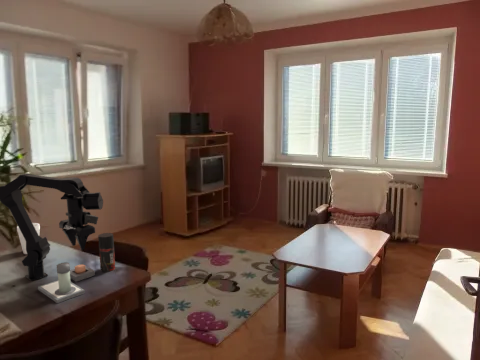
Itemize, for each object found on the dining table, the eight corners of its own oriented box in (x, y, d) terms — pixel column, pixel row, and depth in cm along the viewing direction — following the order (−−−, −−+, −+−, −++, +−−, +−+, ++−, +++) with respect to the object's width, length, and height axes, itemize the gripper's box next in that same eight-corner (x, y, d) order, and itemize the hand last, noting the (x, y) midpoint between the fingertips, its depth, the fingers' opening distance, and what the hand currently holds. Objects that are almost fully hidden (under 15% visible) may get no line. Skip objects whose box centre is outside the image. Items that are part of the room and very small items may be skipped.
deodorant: (110, 272, 157) (108, 237, 154) (97, 271, 158) (95, 236, 155) (117, 266, 162) (115, 233, 160) (105, 265, 164) (103, 232, 161)
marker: (58, 289, 138) (56, 263, 136) (70, 287, 140) (68, 261, 138) (59, 294, 134) (57, 267, 132) (72, 291, 136) (70, 265, 135)
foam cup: (28, 248, 186) (25, 222, 183) (46, 248, 185) (43, 223, 182) (15, 254, 176) (12, 228, 174) (33, 255, 175) (31, 228, 173)
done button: (73, 272, 153) (72, 266, 152) (82, 269, 156) (82, 263, 155) (78, 275, 150) (77, 269, 150) (87, 272, 153) (87, 266, 153)
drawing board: (38, 289, 141) (37, 286, 140) (64, 280, 148) (64, 277, 148) (57, 303, 130) (56, 299, 130) (84, 293, 138) (84, 289, 138)
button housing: (66, 276, 153) (66, 271, 152) (85, 270, 159) (84, 265, 158) (75, 281, 148) (75, 276, 147) (94, 275, 154) (94, 270, 153)
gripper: (106, 209, 148) (109, 247, 151) (83, 202, 160) (86, 237, 163) (79, 215, 140) (82, 255, 143) (57, 207, 152) (60, 244, 155)
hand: (78, 247), depth 151 cm, fingers open, 7 cm apart
